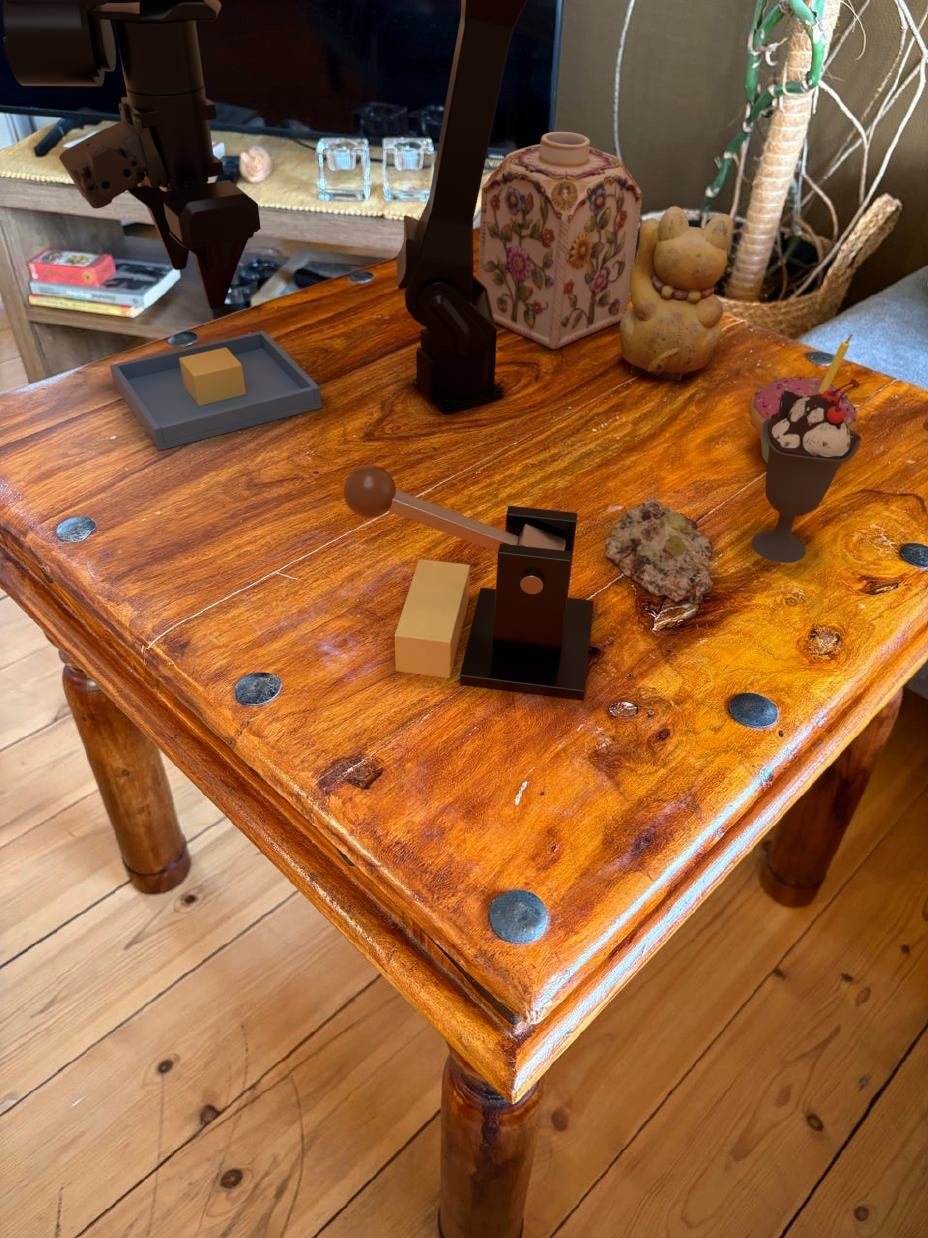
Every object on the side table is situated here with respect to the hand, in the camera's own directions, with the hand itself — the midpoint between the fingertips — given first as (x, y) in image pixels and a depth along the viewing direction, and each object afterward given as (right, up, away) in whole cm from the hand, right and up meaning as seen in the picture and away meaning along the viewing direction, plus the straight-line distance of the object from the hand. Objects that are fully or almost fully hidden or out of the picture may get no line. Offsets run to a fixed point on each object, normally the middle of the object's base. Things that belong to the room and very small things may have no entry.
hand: (197, 287), depth 85 cm
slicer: (+27, -30, -18) cm, 45 cm away
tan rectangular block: (+21, -30, -17) cm, 40 cm away
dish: (0, -8, +7) cm, 10 cm away
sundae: (+47, -23, -9) cm, 53 cm away
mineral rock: (+38, -24, -11) cm, 46 cm away
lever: (+22, -24, -23) cm, 39 cm away
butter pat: (0, -7, +6) cm, 10 cm away
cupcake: (+51, -15, +1) cm, 53 cm away
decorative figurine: (+42, -4, +13) cm, 44 cm away
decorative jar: (+32, +4, +21) cm, 39 cm away
